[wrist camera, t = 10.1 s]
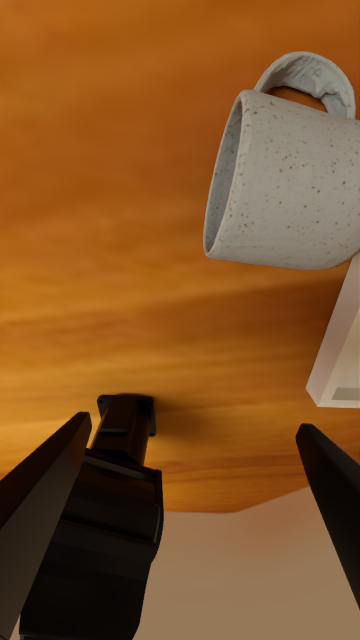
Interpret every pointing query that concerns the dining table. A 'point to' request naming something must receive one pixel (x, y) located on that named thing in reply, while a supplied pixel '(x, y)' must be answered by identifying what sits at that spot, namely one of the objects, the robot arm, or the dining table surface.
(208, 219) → the ceramic mug
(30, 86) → the dining table surface
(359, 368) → the tray
